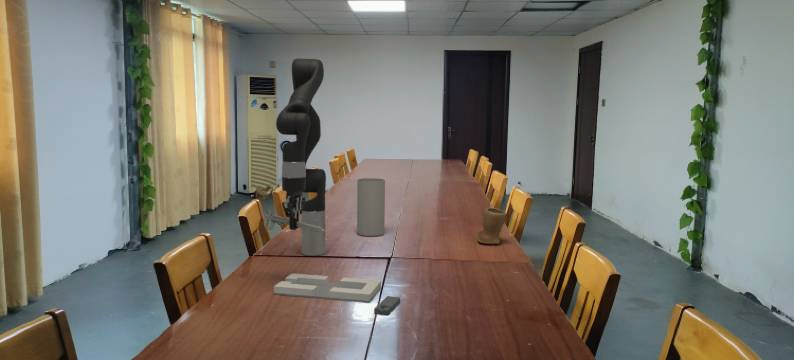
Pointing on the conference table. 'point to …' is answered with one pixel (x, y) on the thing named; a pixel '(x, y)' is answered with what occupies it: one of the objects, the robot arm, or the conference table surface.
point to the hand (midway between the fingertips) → (294, 228)
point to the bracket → (387, 305)
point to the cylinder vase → (370, 207)
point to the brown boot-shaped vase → (491, 226)
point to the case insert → (328, 288)
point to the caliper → (286, 222)
